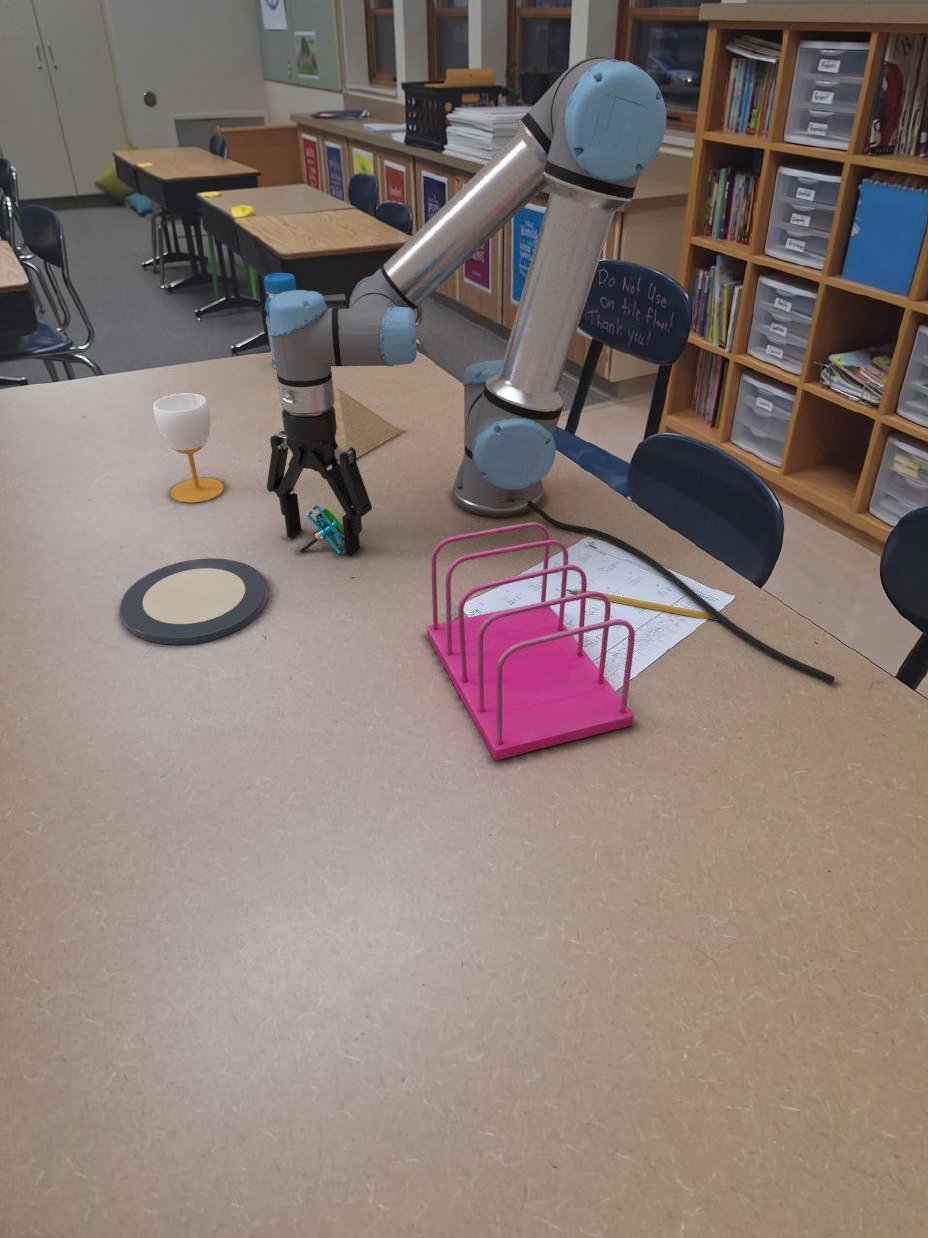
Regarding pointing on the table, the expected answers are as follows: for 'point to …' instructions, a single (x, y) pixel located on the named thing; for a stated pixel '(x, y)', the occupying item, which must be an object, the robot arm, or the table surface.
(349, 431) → the model pyramid
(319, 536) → the spiky blue green toy
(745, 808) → the table surface
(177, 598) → the plate
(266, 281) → the beverage bottle
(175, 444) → the cup
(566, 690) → the file sorter
